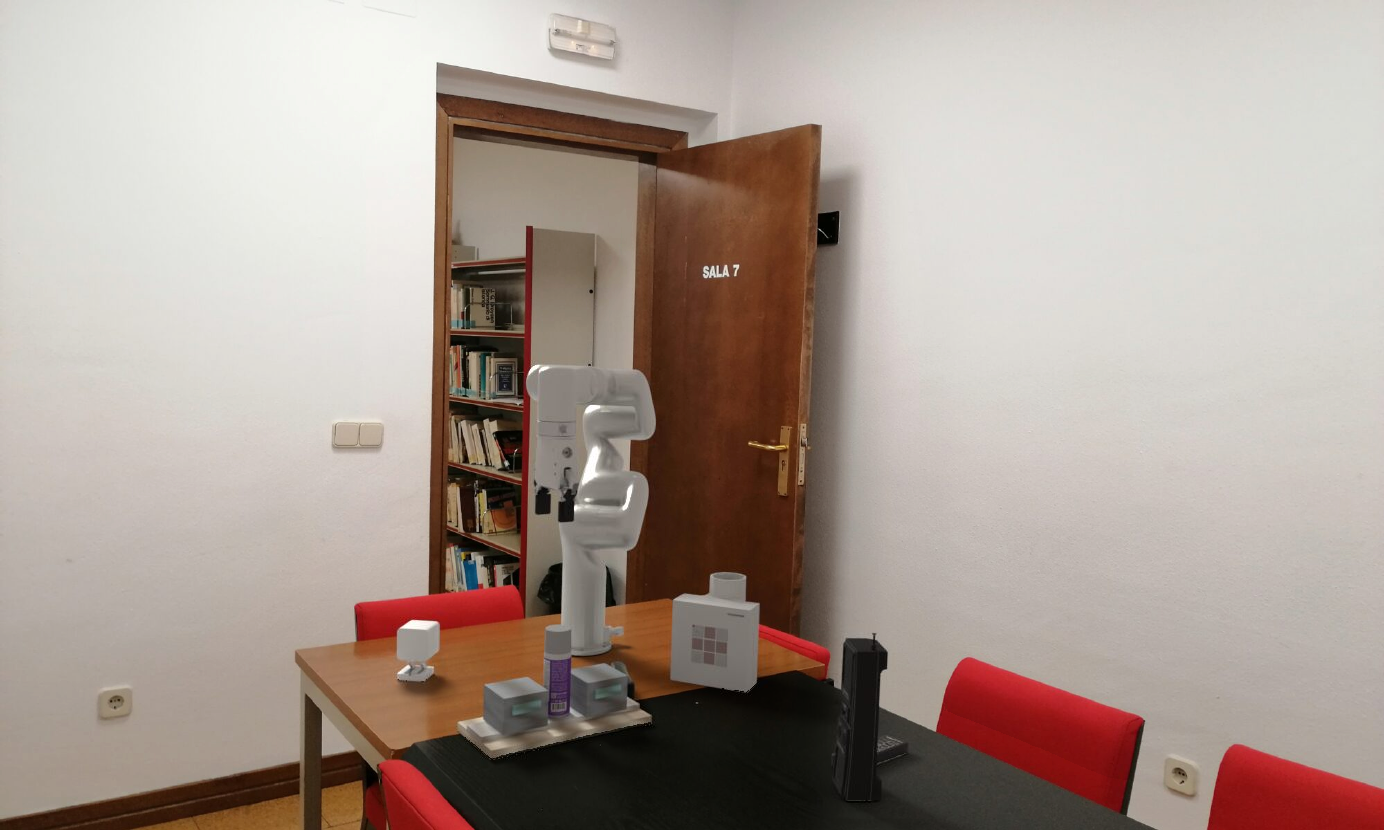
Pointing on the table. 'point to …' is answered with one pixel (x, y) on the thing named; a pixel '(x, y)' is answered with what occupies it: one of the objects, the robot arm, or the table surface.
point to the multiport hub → (887, 748)
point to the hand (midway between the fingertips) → (554, 517)
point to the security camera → (417, 648)
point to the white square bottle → (716, 636)
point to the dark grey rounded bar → (630, 683)
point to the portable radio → (859, 720)
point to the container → (557, 669)
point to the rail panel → (553, 732)
